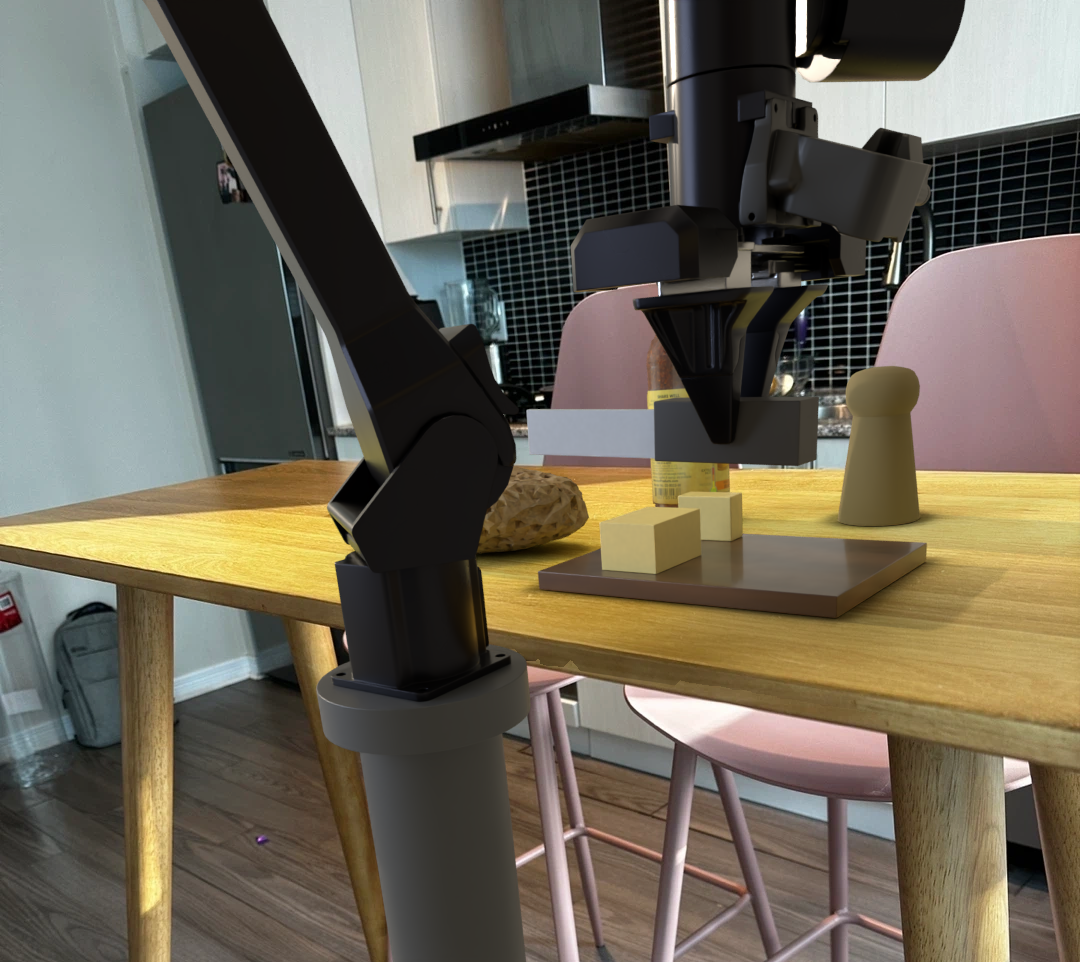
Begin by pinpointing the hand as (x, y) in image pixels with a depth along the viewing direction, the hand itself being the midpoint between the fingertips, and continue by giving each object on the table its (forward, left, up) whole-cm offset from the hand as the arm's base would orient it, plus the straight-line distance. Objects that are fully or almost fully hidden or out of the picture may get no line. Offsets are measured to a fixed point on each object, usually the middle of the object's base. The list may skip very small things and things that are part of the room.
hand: (734, 440), depth 52 cm
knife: (0, +5, -1) cm, 5 cm away
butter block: (+7, +10, -8) cm, 14 cm away
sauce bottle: (+26, +18, -10) cm, 33 cm away
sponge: (+12, +30, -10) cm, 33 cm away
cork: (+30, +4, -10) cm, 31 cm away
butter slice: (+15, +10, -8) cm, 20 cm away
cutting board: (+10, +6, -10) cm, 15 cm away
